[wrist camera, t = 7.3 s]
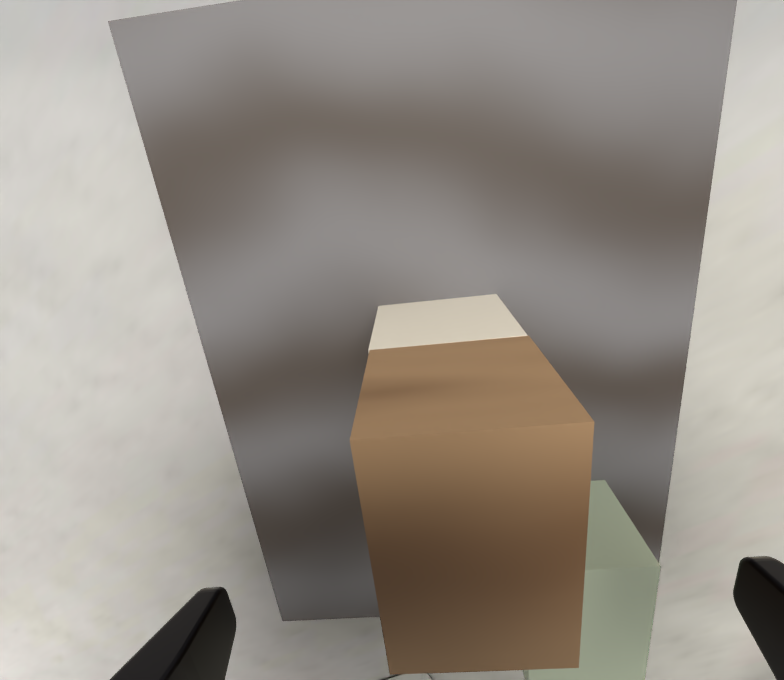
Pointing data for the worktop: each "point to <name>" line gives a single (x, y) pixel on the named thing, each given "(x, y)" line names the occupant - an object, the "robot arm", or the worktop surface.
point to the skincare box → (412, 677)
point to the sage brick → (612, 597)
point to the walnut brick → (474, 505)
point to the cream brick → (443, 322)
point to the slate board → (428, 222)
